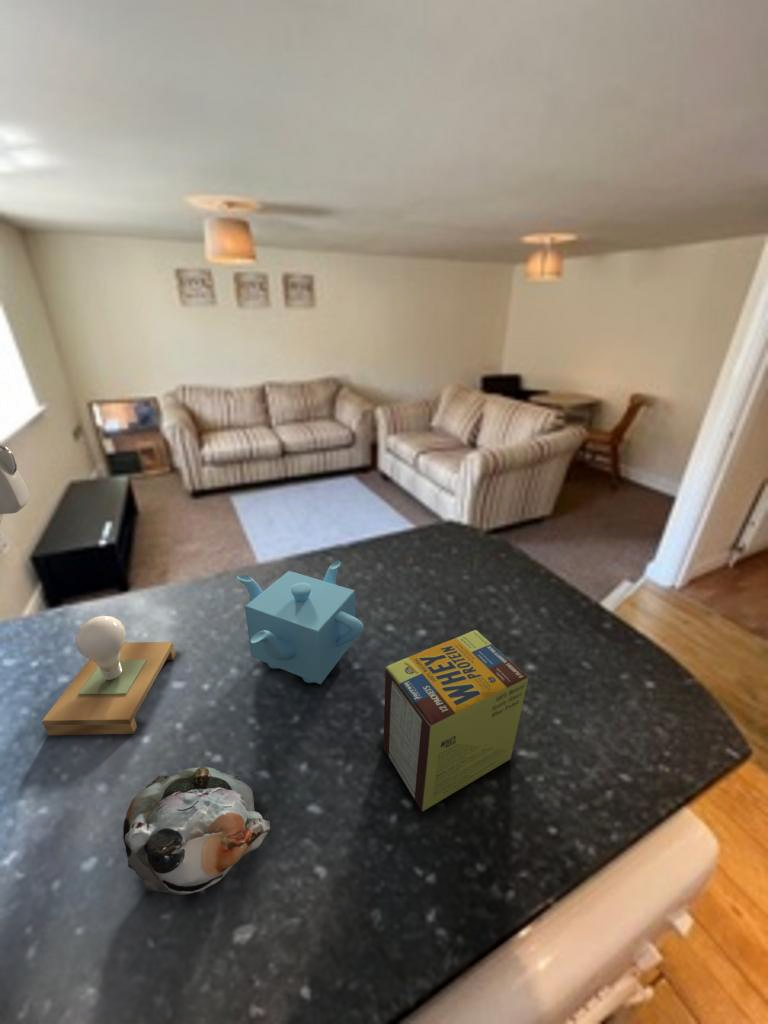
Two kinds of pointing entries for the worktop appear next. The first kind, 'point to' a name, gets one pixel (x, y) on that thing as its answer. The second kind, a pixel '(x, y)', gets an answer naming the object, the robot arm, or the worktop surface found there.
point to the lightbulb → (102, 643)
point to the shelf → (109, 693)
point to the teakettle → (301, 623)
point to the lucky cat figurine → (191, 829)
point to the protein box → (451, 715)
